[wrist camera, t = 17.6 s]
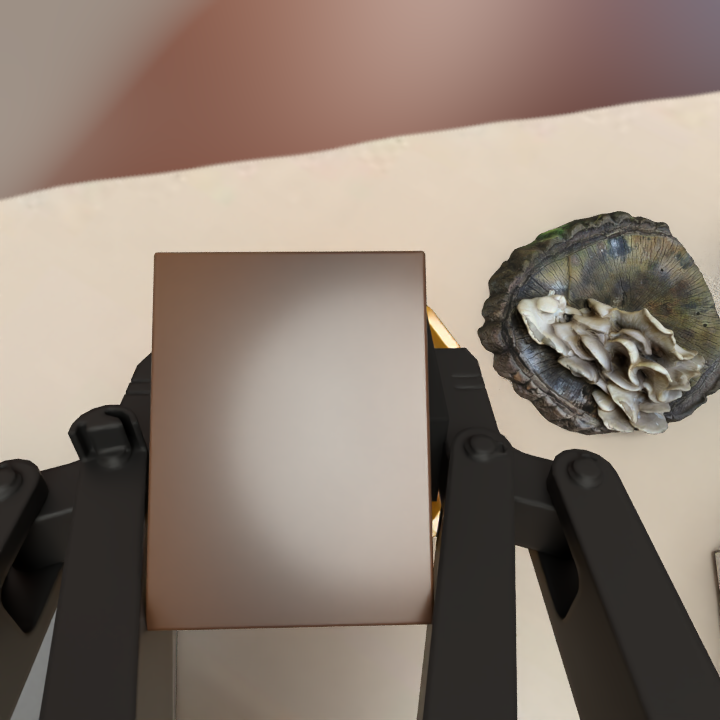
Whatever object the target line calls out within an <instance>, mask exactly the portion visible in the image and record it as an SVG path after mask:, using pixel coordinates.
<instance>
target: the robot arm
mask: <svg viewBox="0 0 720 720" xmlns="http://www.w3.org/2000/svg"><path fill="white" fill-rule="evenodd" d="M427 343H428V381H429V419H430V457H431V496H432V502H435V501H437V496H438V490H439V494H440V500H441V509H440V515H439V521H438V527H437V533H436V537H437V541H436V550H435V559H434V568H433V572H434V607H433V614H432V622H431V624H427V632H426V641H425V650H424V659H423V668H422V677H421V686H420V695H419V705H418V714H417V720H517V667H516V592H515V545H517V546H521V547H525V548H528V550H529V553H530V556H531V559H532V563H533V566H534V569H535V573H536V576H537V579H538V582H539V586H540V589H541V592H542V596H543V599H544V602H545V605H546V609H547V612H548V615H549V619H550V622H551V625H552V628H553V632H554V635H555V638H556V642H557V645H558V648H559V651H560V655H561V658H562V661H563V665H564V668H565V671H566V674H567V678H568V681H569V684H570V688H571V691H572V694H573V697H574V701H575V704H576V707H577V710H578V714H579V717H580V720H720V677H719V675H718V673H717V671H716V669H715V667H714V665H713V663H712V661H711V659H710V657H709V655H708V653H707V651H706V649H705V647H704V645H703V643H702V641H701V639H700V637H699V635H698V633H697V631H696V629H695V627H694V625H693V623H692V621H691V619H690V617H689V615H688V613H687V611H686V609H685V607H684V605H683V603H682V601H681V599H680V597H679V595H678V593H677V591H676V589H675V587H674V585H673V583H672V581H671V579H670V577H669V575H668V573H667V571H666V569H665V567H664V565H663V563H662V561H661V559H660V557H659V555H658V553H657V551H656V549H655V547H654V545H653V543H652V541H651V539H650V537H649V535H648V533H647V531H646V529H645V527H644V525H643V523H642V521H641V519H640V517H639V515H638V513H637V511H636V509H635V508H634V506H633V504H632V502H631V500H630V498H629V496H628V494H627V492H626V490H625V488H624V486H623V484H622V482H621V480H620V478H619V476H618V474H617V472H616V471H615V469H614V468H613V467H612V465H611V464H610V463H609V462H608V461H606V460H605V459H604V458H602V457H601V456H600V455H597V454H595V453H592V452H590V451H587V450H580V449H571V450H565V451H563V452H561V453H560V454H558V455H557V456H555V459H554V461H552V460H548V459H544V458H540V457H536V456H532V455H529V454H526V453H523V452H521V451H519V450H517V449H515V448H513V447H512V446H511V444H510V442H509V441H508V440H507V439H506V438H505V436H503V435H502V434H500V432H499V430H498V427H497V424H496V421H495V417H494V414H493V411H492V407H491V404H490V401H489V397H488V394H487V391H486V389H485V384H484V381H483V377H482V374H481V371H480V367H479V364H478V361H477V359H476V358H475V357H474V356H473V355H472V354H471V353H470V352H469V351H468V350H467V349H466V348H434V344H433V339H432V334H431V330H430V325H429V320H428V315H427ZM151 364H152V353H150V354H149V355H148V356H147V357H146V358H145V359H144V360H143V361H142V362H141V363H139V364H138V365H137V367H136V370H135V372H134V374H133V377H132V379H131V383H129V386H128V388H127V390H126V395H124V397H123V399H122V402H121V404H120V405H105V406H101V407H98V408H94V409H92V410H90V411H88V412H86V413H84V414H83V415H81V416H80V417H79V418H78V419H77V420H76V421H75V422H74V423H73V424H72V425H71V428H70V430H69V432H68V435H69V437H70V439H71V441H72V443H73V445H74V448H75V450H76V452H77V454H78V456H79V458H80V460H78V461H75V462H72V463H70V464H66V465H62V466H59V467H55V468H51V469H47V470H43V471H39V469H38V467H37V466H36V465H35V464H34V463H32V462H31V461H29V460H22V459H14V460H7V461H3V462H1V463H0V720H10V719H11V717H12V715H13V712H14V710H15V707H16V705H17V703H18V700H19V698H20V695H21V693H22V690H23V688H24V686H25V683H26V681H27V678H28V676H29V674H30V671H31V669H32V666H33V664H34V662H35V659H36V657H37V654H38V652H39V649H40V647H41V645H42V642H43V640H44V637H45V635H46V633H47V630H48V628H49V625H50V623H51V620H52V618H53V616H54V613H55V611H56V616H55V623H54V629H53V635H52V641H51V647H50V654H49V660H48V666H47V672H46V678H45V685H44V691H43V697H42V703H41V709H40V716H39V720H173V630H167V631H148V630H147V622H146V610H145V609H146V568H147V528H148V487H149V446H150V405H151ZM56 608H57V610H56Z"/></svg>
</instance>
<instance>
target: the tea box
mask: <svg viewBox="0 0 720 720" xmlns="http://www.w3.org/2000/svg"><path fill="white" fill-rule="evenodd" d="M715 559H716V566H717V574H718V581H719V589H720V552H716V553H715Z"/></svg>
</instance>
